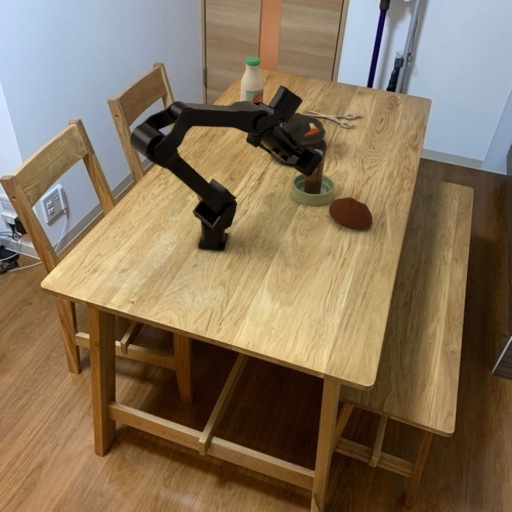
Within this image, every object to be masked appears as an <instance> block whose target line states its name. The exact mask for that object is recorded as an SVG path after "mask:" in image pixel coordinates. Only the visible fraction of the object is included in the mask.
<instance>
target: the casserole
mask: <svg viewBox="0 0 512 512" xmlns="http://www.w3.org/2000/svg"><path fill="white" fill-rule="evenodd" d="M302 115H303V116H305V117H307V118H308V120H309V123H310V126H311V130H310V131H309V132H307V133H306V134H305V135H304V136H303V137H302V138H300V139H299V140H300V141H301V143H300V145H299V146H297V147H299V148H300V149H302V150H305V149H306V148H308V147H310V148H312V149H318V150H321V151H322V152H323V153H324V152H325V151H326V150H327V142H326V140H325V137H326V134H327V133H326V129H325V127H324V124H323V123H322V122H321V121H320V120H319V119H318V118H316V117H314V116H312V115H305V114H302ZM277 124H278V125H279V126H281V124H282V123H280V122H278V123H277ZM281 127H282V126H281ZM296 152H297V151H296ZM298 153H299V152H298ZM299 154H300V153H299ZM270 157H271V158H272V159H274V160H276V161H277V162H281V163H284V164H291V165H295V163H296V162H297V160H298V158H297V157H295V156H292V157H291V158H288V160H287V161H286V162H285V161H284V160H282V159H280V158H279V157H277V156H276V155H271V154H270Z"/></svg>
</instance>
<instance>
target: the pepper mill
mask: <svg viewBox="0 0 512 512" xmlns="http://www.w3.org/2000/svg"><path fill="white" fill-rule="evenodd" d="M314 150H316V151H317V152H319V153H320V154H321V155H322V156H323V155H324V152H322V151H321V150H318V149H314ZM325 161H326V159H325V157H324V156H323V159H322V161H321V162H320V163H319V165H318V166H317V169H318V170H317V171H316V173H313V174H312V175H311V176H310V177H306V176H305V185H304V193H308V194H320V193H321V185H322V178H323V175H324V168H325Z"/></svg>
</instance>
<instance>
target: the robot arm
mask: <svg viewBox="0 0 512 512" xmlns="http://www.w3.org/2000/svg"><path fill="white" fill-rule="evenodd" d="M303 102H304V100H303V98H302V97H300V96H299V95H298V94H295V93H294V92H293V91H291V90H290V89H289V88H288V87H286V86H284V85H282V84H281V85H280V86H279V87H278V89H277V90H276V93H275V94H274V96H273V97H272V99H271V100H270V101H269V103H268V104H267V103H265V102H263V103H262V102H261V101H259V102H252V103H251V102H250V101H240V100H239V101H234V102H233V103H231V104H228V105H225V104H224V105H223V104H222V105H221V104H209V103H208V104H207V103H195V102H184V101H182V100H176V101H173V102H172V103H171V104H169V105H168V106H167V107H166V108H164V109H162V110H159V111H158V112H156V113H153V114H151V115H150V116H148V117H147V118H145V120H143V121H142V122H141V123H140V124H138V125H137V126H136V127H134V129H133V130H132V132H131V134H130V141H129V144H130V145H131V146H132V148H133V149H134V150H136V151H137V152H138V153H139V154H140V155H142V156H143V157H145V158H146V159H147V160H148V161H149V162H151V163H153V164H155V165H157V166H158V167H160V168H163V169H165V170H167V171H169V172H170V173H171V174H172V175H174V176H175V177H176V178H177V179H178V180H179V181H181V183H183V184H184V185H185V186H186V187H187V188H189V189H190V190H191V191H192V192H193V193H194V194H195V195H196V197H197V200H198V203H197V204H196V205H195V206H194V208H193V209H192V214H193V216H194V218H196V219H198V220H199V221H200V233H201V236H200V238H199V242H198V245H197V248H198V249H200V250H201V249H202V250H211V251H218V252H219V251H220V252H223V251H225V250H226V246H227V242H228V239H229V233H228V232H226V230H227V229H229V228H231V227H232V225H233V221H234V218H235V216H236V212H237V206H238V202H237V201H236V199H237V198H238V197H237V196H236V195H234V194H233V193H232V192H231V191H230V190H229V189H228V188H226V187H225V186H224V185H223V184H221V183H220V182H219V181H217V180H215V178H212V179H211V180H210V181H207V180H206V179H205V177H203V176H202V175H201V174H200V173H199V172H198V171H197V170H196V169H194V168H193V166H191V164H189V162H187V161H186V160H185V159H184V158H182V157H181V155H180V153H179V150H178V148H179V147H180V146H181V145H182V144H183V142H184V139H185V137H186V135H187V133H188V131H189V130H190V129H191V128H192V127H200V128H201V127H203V128H205V127H206V128H228V129H229V128H230V129H231V128H232V129H236V130H238V131H241V132H243V133H246V134H247V136H246V138H245V142H246V143H247V144H249V145H251V146H252V147H254V148H260V149H261V150H263V151H264V152H266V153H268V154H269V155H270V156H271V155H276V156H277V157H279V158H280V159H282V160H284V161H285V162H286V161H287V160H288V158H291V157H292V156H295V157H297V158H298V160H297V162H296V163H295V164H294V170H296V172H298V173H299V174H303V175H305V176H306V177H310V176H311V175H312V174H313V173H316V171H317V170H318V169H317V166H318V165H319V163H320V162H321V161H322V159H323V157H324V156H322V155H321V154H320V153H319V152H317V151H316V150H314V149H312V148H310V147H308V148H306V149H305V150H302V149H300V148H299V147H297V146H299V145H300V143H301V141H300V140H299V139H300V138H302V137H303V136H304V135H305V134H306V133H307V132H309V131H310V130H311V126H310V123H309V120H308V118H307V117H305V116H303V115H304V114H302V113H299V112H297V111H298V109H299V108H300V106H301V105H302V104H303ZM278 122H280V123H282V124H281V126H282V127H281V126H279V125H278V124H277V123H278ZM171 125H173V126H172V128H171V130H170V131H169V132H168V133H167V134H165V133H163V132H162V131H161V130H162V129H164V128H167V127H169V126H171ZM296 151H297V152H296ZM298 152H299V153H300V154H299V153H298Z"/></svg>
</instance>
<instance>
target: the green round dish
mask: <svg viewBox="0 0 512 512" xmlns="http://www.w3.org/2000/svg"><path fill="white" fill-rule="evenodd" d="M304 185H305V175H303V174H301V173H299V174H297V175H295V176H294V177H293V178H292V180H291V186H290V195H291V197H292V199H293V200H294V201H296V202H297V203H300V204H301V205H304V206H309V207H319V206H320V207H321V206H325V205H328V204H329V203H331V201H332V200H333V198H334V193H335V182H334V181H333V179H332V178H330V177H329V176H327V175H326V174H323V178H322V185H321V193H320V194H308V193H304Z"/></svg>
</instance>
